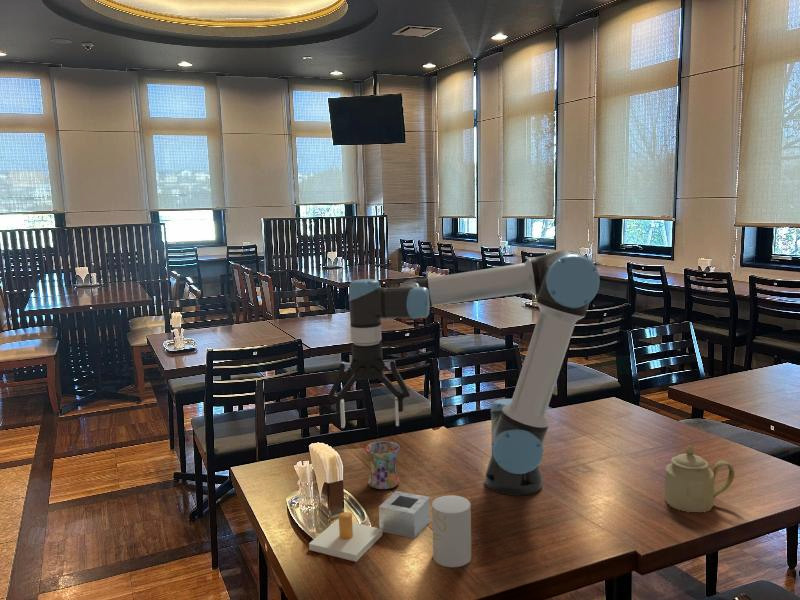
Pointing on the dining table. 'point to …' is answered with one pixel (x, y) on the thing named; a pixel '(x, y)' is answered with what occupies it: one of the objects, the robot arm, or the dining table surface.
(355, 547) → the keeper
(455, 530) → the white upright cylinder
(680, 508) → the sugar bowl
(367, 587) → the dining table surface
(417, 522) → the grey block with hole
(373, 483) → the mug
